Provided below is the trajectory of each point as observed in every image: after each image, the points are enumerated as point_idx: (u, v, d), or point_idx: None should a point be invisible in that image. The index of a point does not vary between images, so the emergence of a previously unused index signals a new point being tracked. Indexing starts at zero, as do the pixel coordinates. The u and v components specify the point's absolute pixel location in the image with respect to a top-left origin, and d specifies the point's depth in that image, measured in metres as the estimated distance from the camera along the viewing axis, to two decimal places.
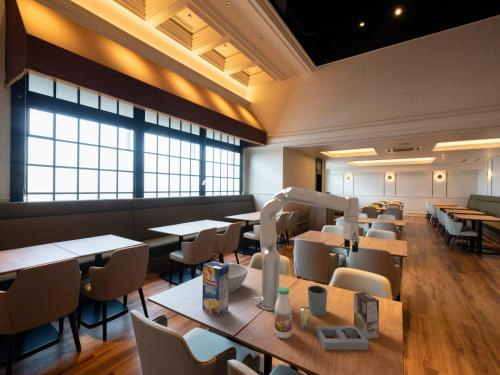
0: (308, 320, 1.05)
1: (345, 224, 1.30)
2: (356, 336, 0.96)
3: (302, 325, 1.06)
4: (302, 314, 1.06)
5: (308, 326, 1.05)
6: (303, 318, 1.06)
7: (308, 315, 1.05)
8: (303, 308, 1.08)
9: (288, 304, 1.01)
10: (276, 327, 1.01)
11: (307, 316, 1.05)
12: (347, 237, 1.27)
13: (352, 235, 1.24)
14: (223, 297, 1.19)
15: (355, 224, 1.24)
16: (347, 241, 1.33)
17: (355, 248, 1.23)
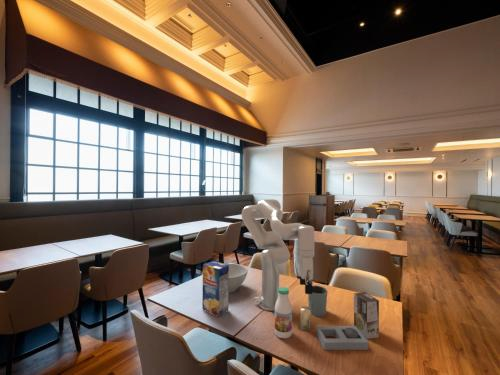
0: (308, 320, 1.05)
1: (299, 258, 1.08)
2: (356, 336, 0.96)
3: (302, 325, 1.06)
4: (302, 314, 1.06)
5: (308, 326, 1.05)
6: (303, 318, 1.06)
7: (308, 315, 1.05)
8: (303, 308, 1.08)
9: (288, 304, 1.01)
10: (276, 327, 1.01)
11: (307, 316, 1.05)
12: (300, 275, 1.06)
13: (305, 273, 1.02)
14: (223, 297, 1.19)
15: (309, 260, 1.03)
16: None
17: (308, 289, 1.02)
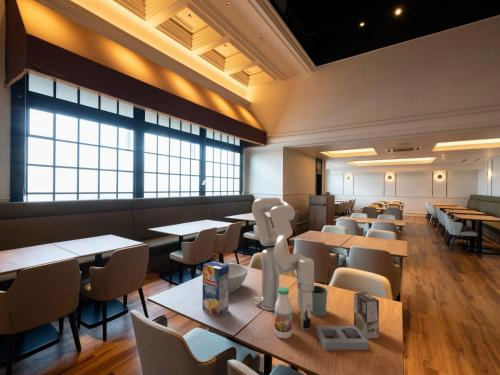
0: None
1: (299, 291, 1.08)
2: (356, 336, 0.96)
3: (302, 325, 1.06)
4: (302, 314, 1.06)
5: None
6: (303, 318, 1.06)
7: None
8: None
9: (288, 304, 1.01)
10: (276, 327, 1.01)
11: None
12: (300, 308, 1.06)
13: (304, 311, 1.03)
14: (223, 297, 1.19)
15: (308, 294, 1.03)
16: None
17: (306, 324, 1.04)
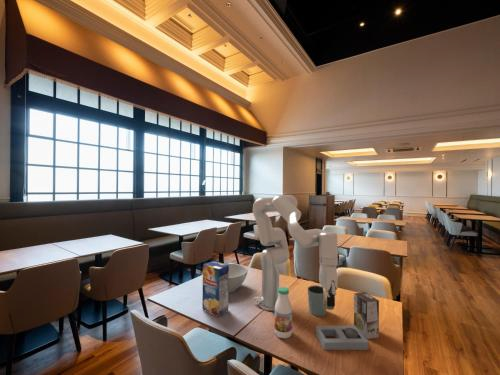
0: None
1: (321, 267, 1.00)
2: (356, 336, 0.96)
3: (326, 303, 0.98)
4: (325, 291, 0.98)
5: None
6: (326, 296, 0.98)
7: None
8: None
9: (288, 304, 1.01)
10: (276, 327, 1.01)
11: None
12: (323, 285, 0.97)
13: (328, 287, 0.94)
14: (223, 297, 1.19)
15: (332, 269, 0.95)
16: None
17: (331, 302, 0.96)
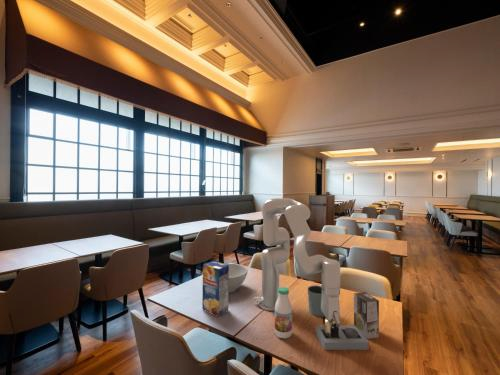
0: None
1: (323, 295, 1.00)
2: (356, 336, 0.96)
3: (327, 338, 0.97)
4: (327, 326, 0.97)
5: (334, 338, 0.97)
6: (328, 330, 0.97)
7: None
8: None
9: (288, 304, 1.01)
10: (276, 327, 1.01)
11: None
12: (325, 314, 0.97)
13: (331, 315, 0.93)
14: (223, 297, 1.19)
15: (335, 299, 0.94)
16: None
17: (334, 333, 0.93)
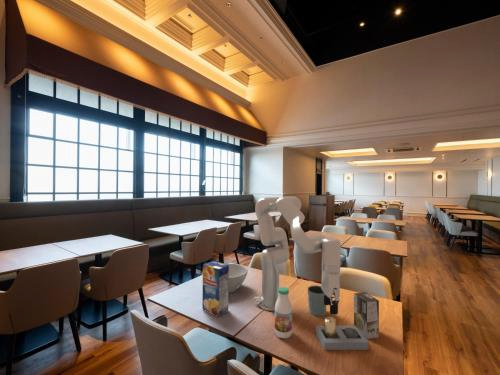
0: (334, 332, 0.97)
1: (323, 274, 1.00)
2: (356, 336, 0.96)
3: (327, 338, 0.97)
4: (327, 326, 0.97)
5: (334, 338, 0.97)
6: (328, 330, 0.97)
7: (334, 327, 0.97)
8: (328, 319, 0.99)
9: (288, 304, 1.01)
10: (276, 327, 1.01)
11: (333, 328, 0.96)
12: (325, 292, 0.97)
13: (331, 293, 0.94)
14: (223, 297, 1.19)
15: (335, 277, 0.94)
16: (327, 297, 1.02)
17: (334, 309, 0.94)
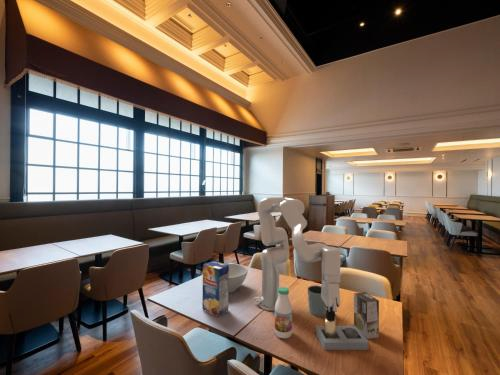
0: (334, 332, 0.97)
1: (323, 283, 1.00)
2: (356, 336, 0.96)
3: (327, 338, 0.97)
4: (327, 326, 0.97)
5: (334, 338, 0.97)
6: (328, 330, 0.97)
7: (334, 327, 0.97)
8: None
9: (288, 304, 1.01)
10: (276, 327, 1.01)
11: (333, 328, 0.96)
12: (325, 301, 0.97)
13: None
14: (223, 297, 1.19)
15: (335, 286, 0.94)
16: None
17: (331, 316, 0.97)
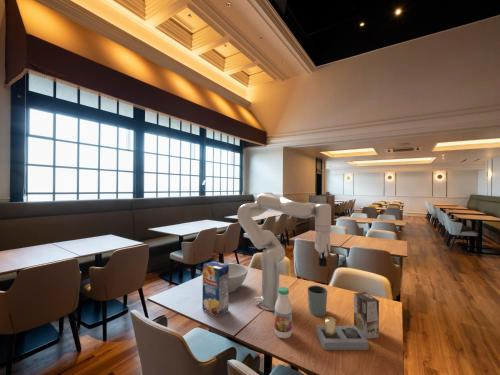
0: (334, 332, 0.97)
1: (316, 234, 1.15)
2: (356, 336, 0.96)
3: (327, 338, 0.97)
4: (327, 326, 0.97)
5: (334, 338, 0.97)
6: (328, 330, 0.97)
7: (334, 327, 0.97)
8: (328, 319, 0.99)
9: (288, 304, 1.01)
10: (276, 327, 1.01)
11: (333, 328, 0.96)
12: (318, 249, 1.12)
13: None
14: (223, 297, 1.19)
15: (326, 235, 1.09)
16: None
17: (323, 262, 1.12)
